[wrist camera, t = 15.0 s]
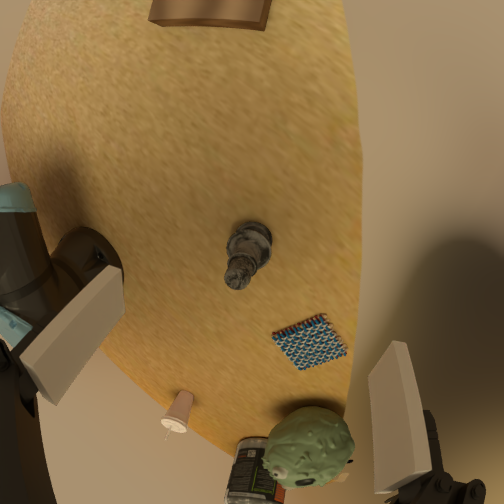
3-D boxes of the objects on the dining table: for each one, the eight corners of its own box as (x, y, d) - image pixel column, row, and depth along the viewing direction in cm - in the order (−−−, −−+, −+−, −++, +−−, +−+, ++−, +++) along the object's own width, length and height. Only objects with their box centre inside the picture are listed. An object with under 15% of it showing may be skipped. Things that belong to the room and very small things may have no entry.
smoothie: (184, 384, 61) (163, 432, 49) (204, 399, 62) (186, 447, 50) (169, 390, 64) (148, 435, 51) (188, 404, 65) (170, 448, 53)
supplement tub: (230, 445, 74) (210, 516, 51) (252, 430, 66) (232, 514, 44) (275, 459, 75) (261, 527, 52) (302, 445, 67) (291, 525, 45)
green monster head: (351, 424, 59) (350, 495, 41) (276, 425, 63) (263, 494, 46) (356, 389, 52) (359, 476, 34) (267, 392, 56) (249, 475, 39)
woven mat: (299, 366, 52) (298, 374, 50) (269, 330, 49) (267, 339, 47) (350, 348, 48) (350, 356, 46) (324, 308, 44) (324, 316, 43)
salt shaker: (225, 229, 41) (196, 273, 30) (262, 213, 39) (244, 255, 28) (245, 263, 43) (223, 315, 32) (281, 249, 41) (270, 301, 30)
